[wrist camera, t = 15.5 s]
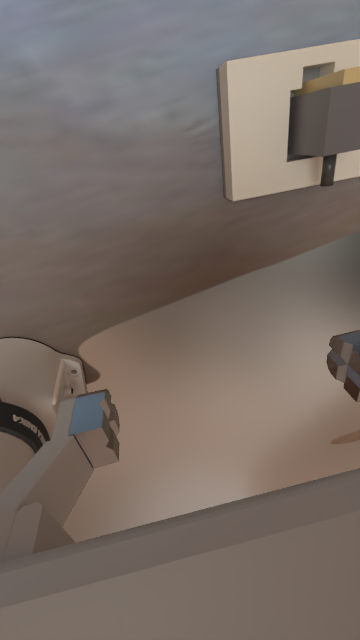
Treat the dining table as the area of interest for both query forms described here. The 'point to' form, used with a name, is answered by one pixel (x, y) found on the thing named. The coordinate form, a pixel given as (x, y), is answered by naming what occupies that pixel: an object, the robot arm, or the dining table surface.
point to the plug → (326, 119)
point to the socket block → (274, 120)
